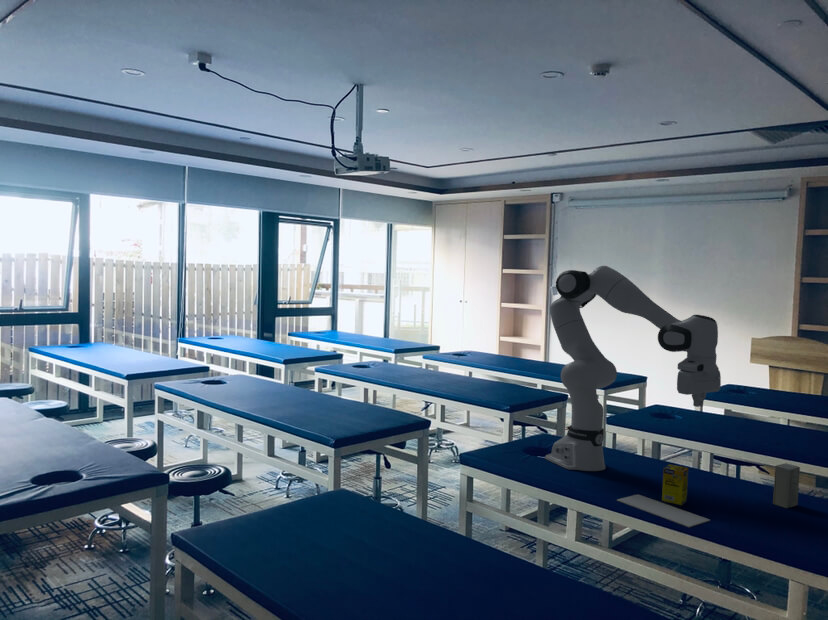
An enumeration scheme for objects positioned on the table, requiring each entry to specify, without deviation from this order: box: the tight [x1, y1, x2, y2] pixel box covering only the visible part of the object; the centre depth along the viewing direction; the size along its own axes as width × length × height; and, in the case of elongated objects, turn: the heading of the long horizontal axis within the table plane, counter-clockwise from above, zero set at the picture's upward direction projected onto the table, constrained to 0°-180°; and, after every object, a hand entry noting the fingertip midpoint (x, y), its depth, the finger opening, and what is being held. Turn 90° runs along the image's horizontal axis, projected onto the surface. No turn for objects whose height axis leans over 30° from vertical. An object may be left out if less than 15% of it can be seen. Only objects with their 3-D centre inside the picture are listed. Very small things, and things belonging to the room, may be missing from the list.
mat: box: [616, 493, 711, 528], centre depth 183 cm, size 24×10×1 cm, turn 34°
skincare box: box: [772, 463, 801, 509], centre depth 191 cm, size 6×4×12 cm
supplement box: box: [661, 463, 689, 508], centre depth 189 cm, size 6×6×11 cm
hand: (698, 406), depth 204 cm, fingers closed
